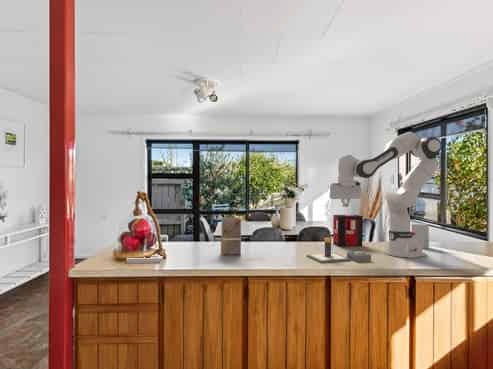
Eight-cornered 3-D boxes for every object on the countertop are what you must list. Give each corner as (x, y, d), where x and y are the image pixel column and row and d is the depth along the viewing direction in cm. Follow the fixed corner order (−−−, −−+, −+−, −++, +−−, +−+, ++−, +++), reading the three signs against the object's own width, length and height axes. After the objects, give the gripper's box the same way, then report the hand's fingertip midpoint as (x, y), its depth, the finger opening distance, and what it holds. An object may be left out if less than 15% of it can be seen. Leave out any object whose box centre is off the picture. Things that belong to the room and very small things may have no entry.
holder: (144, 246, 224) (144, 242, 224) (172, 246, 225) (172, 242, 225) (126, 264, 179) (126, 258, 179) (161, 263, 181) (161, 258, 181)
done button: (359, 256, 192) (359, 251, 192) (365, 258, 188) (365, 253, 188) (352, 257, 191) (352, 251, 191) (357, 259, 186) (357, 253, 186)
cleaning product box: (338, 246, 226) (338, 216, 225) (333, 244, 235) (333, 214, 234) (362, 246, 228) (362, 216, 228) (356, 243, 237) (356, 214, 236)
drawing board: (334, 254, 202) (334, 252, 202) (350, 260, 187) (350, 258, 187) (306, 256, 196) (306, 254, 196) (321, 263, 181) (321, 260, 181)
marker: (329, 255, 194) (329, 237, 194) (332, 256, 190) (332, 238, 190) (323, 255, 193) (323, 237, 193) (326, 257, 189) (326, 239, 189)
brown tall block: (220, 254, 202) (220, 211, 202) (240, 254, 203) (240, 211, 203) (220, 257, 194) (221, 212, 194) (241, 257, 196) (241, 212, 195)
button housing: (360, 257, 195) (360, 251, 195) (370, 261, 187) (371, 254, 186) (346, 258, 192) (346, 252, 192) (356, 262, 184) (356, 255, 184)
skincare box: (429, 247, 223) (429, 223, 223) (423, 249, 220) (424, 224, 219) (416, 245, 230) (417, 222, 230) (411, 246, 227) (411, 223, 226)
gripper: (333, 183, 196) (333, 207, 196) (363, 183, 203) (363, 206, 203) (327, 183, 202) (327, 206, 202) (357, 182, 209) (356, 205, 209)
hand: (345, 206), depth 203 cm, fingers closed
